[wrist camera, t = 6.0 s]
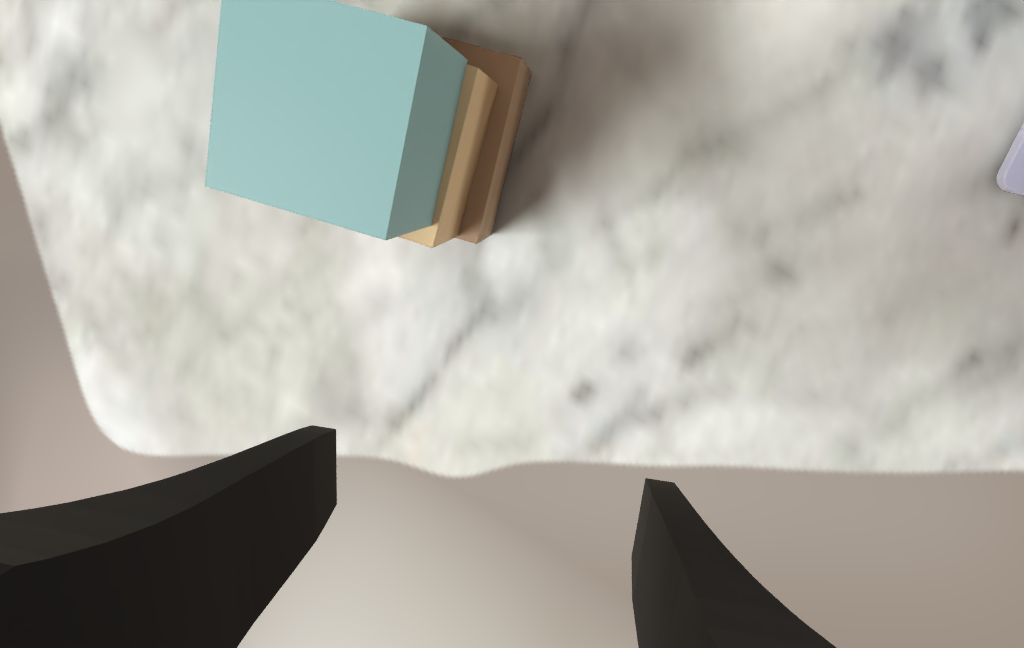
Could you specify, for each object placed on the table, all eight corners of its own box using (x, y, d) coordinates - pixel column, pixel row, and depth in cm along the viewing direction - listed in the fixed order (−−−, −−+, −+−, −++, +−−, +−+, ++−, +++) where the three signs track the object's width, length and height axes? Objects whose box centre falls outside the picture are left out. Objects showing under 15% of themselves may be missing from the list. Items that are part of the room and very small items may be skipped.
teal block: (467, 60, 14) (426, 25, 11) (431, 225, 16) (385, 240, 12) (309, 17, 15) (223, -29, 11) (287, 183, 16) (204, 186, 13)
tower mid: (498, 84, 17) (477, 68, 14) (458, 236, 19) (432, 248, 16) (352, 39, 18) (303, 14, 15) (324, 191, 19) (275, 196, 16)
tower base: (532, 73, 20) (521, 57, 17) (492, 233, 22) (476, 243, 19) (377, 33, 20) (341, 10, 17) (351, 193, 22) (314, 197, 19)
